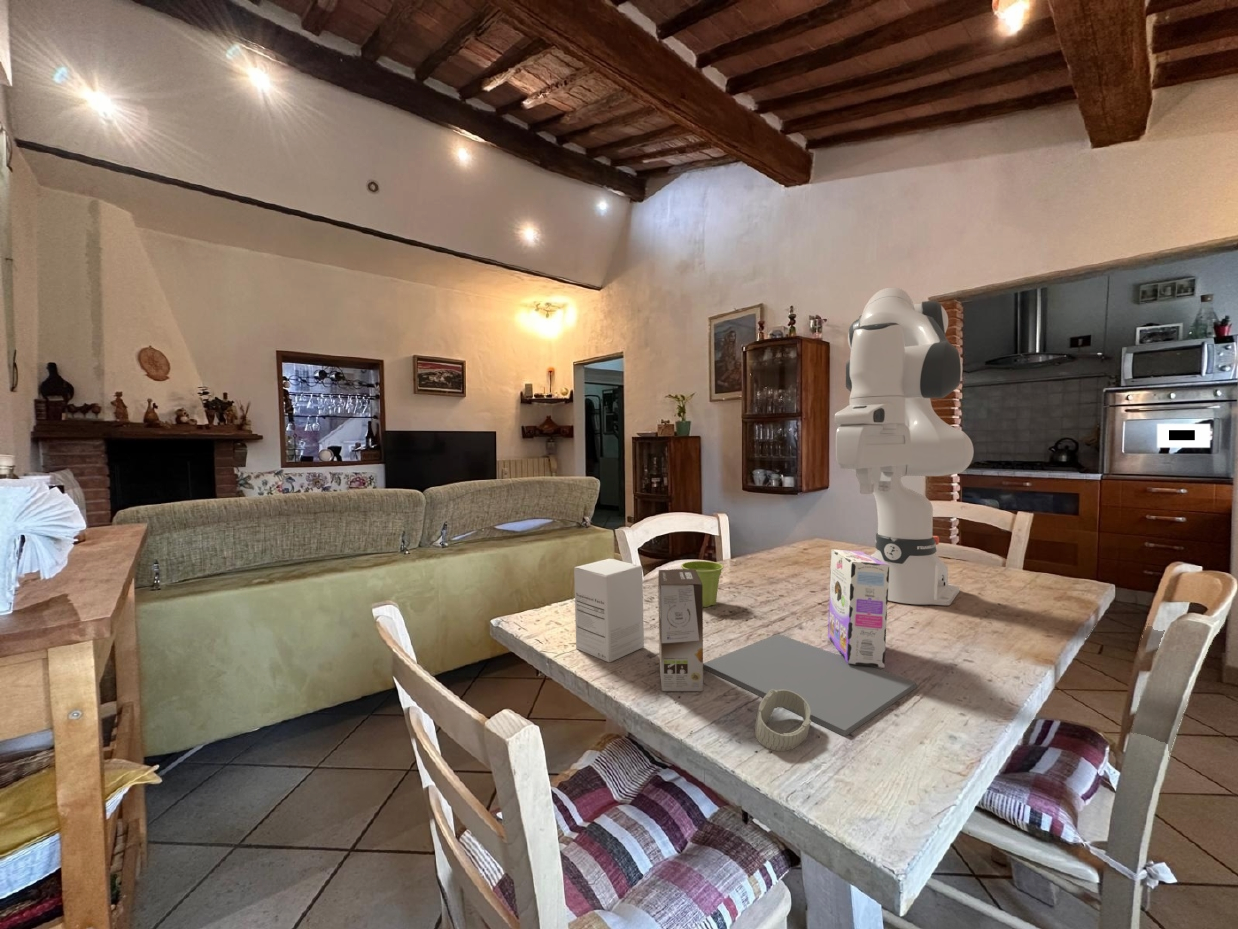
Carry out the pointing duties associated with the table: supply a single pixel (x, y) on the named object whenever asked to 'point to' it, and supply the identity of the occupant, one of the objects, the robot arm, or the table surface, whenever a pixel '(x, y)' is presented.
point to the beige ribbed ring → (764, 712)
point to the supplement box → (609, 608)
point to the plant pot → (707, 578)
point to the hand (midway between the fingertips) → (876, 492)
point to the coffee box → (680, 630)
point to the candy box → (858, 607)
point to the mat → (813, 680)
